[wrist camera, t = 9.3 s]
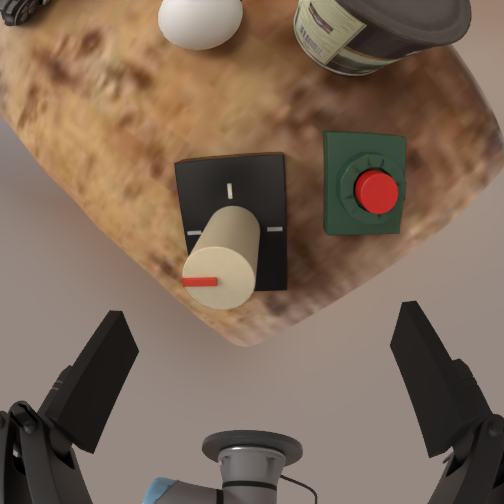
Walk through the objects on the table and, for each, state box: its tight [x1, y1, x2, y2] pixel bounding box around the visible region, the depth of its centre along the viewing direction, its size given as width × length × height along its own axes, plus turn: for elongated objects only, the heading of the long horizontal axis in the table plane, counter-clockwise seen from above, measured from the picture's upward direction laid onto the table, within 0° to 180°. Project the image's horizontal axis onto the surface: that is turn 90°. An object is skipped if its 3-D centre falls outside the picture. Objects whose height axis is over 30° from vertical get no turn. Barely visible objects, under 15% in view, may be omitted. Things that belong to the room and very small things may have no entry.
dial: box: [182, 206, 260, 310], centre depth 23 cm, size 5×5×9 cm
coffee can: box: [293, 0, 471, 76], centre depth 13 cm, size 10×10×14 cm
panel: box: [174, 152, 287, 291], centre depth 28 cm, size 14×10×3 cm
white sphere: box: [158, 0, 243, 50], centre depth 16 cm, size 10×7×7 cm
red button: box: [355, 170, 398, 214], centre depth 22 cm, size 4×4×2 cm
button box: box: [323, 131, 406, 235], centre depth 24 cm, size 10×8×4 cm
